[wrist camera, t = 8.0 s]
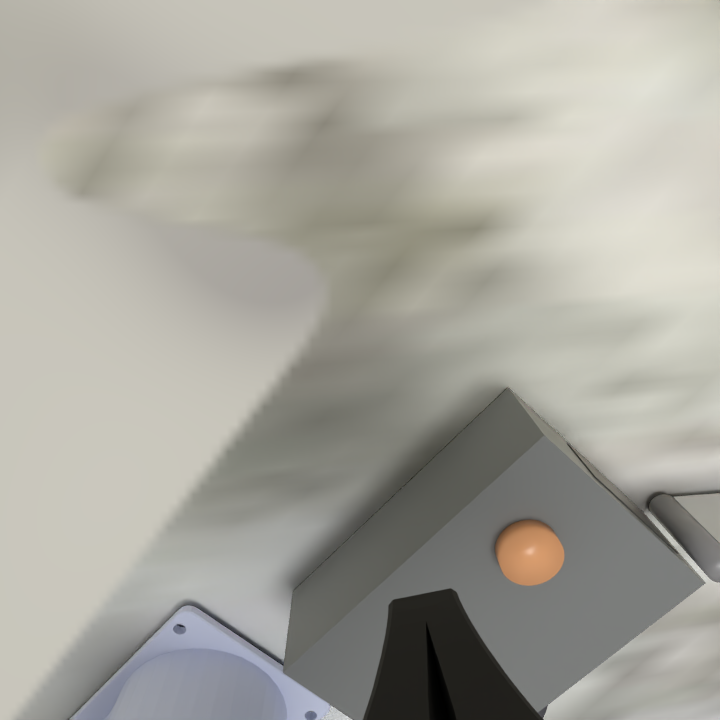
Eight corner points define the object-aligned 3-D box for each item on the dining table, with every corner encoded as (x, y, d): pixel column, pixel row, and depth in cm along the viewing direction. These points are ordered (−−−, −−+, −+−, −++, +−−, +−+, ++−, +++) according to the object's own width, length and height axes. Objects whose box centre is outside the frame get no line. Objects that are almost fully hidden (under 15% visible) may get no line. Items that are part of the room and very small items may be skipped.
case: (445, 700, 25) (467, 810, 21) (292, 591, 23) (280, 687, 19) (660, 526, 23) (734, 610, 18) (509, 386, 21) (552, 443, 16)
